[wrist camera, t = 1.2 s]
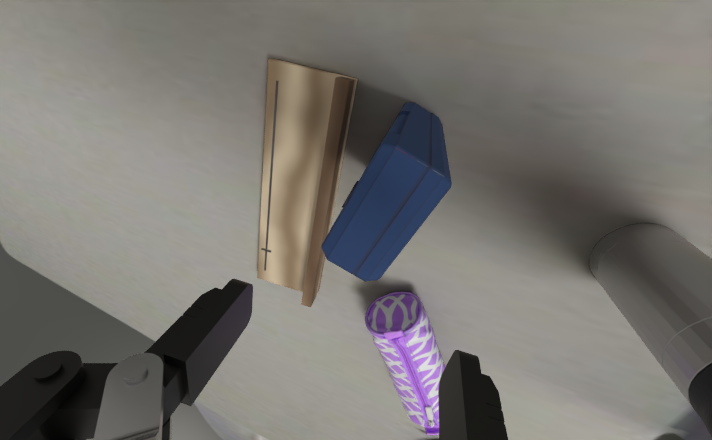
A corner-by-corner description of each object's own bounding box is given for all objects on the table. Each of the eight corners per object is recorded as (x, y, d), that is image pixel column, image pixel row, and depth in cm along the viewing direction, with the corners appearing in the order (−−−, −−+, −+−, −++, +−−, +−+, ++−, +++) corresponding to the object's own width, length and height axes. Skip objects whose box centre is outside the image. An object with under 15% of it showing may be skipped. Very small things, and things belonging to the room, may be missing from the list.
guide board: (357, 78, 35) (349, 80, 31) (318, 290, 50) (310, 307, 47) (274, 58, 35) (257, 58, 32) (261, 272, 51) (249, 287, 48)
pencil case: (459, 381, 53) (464, 440, 45) (407, 384, 56) (403, 440, 48) (421, 280, 45) (419, 329, 37) (363, 290, 48) (349, 337, 40)
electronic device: (401, 188, 39) (377, 290, 22) (366, 167, 39) (314, 253, 22) (446, 122, 35) (461, 184, 17) (407, 98, 34) (382, 136, 17)
